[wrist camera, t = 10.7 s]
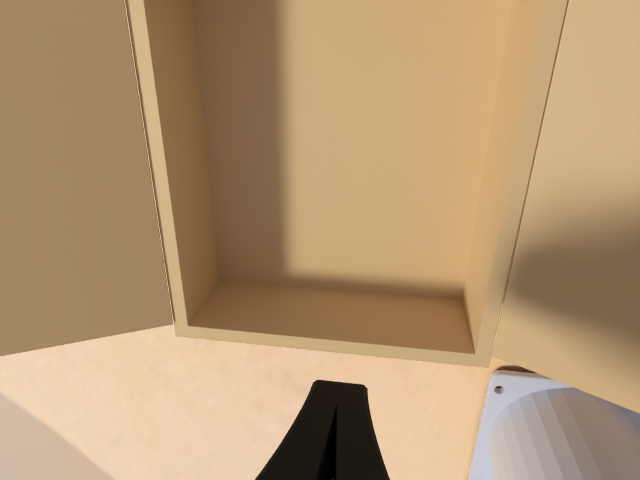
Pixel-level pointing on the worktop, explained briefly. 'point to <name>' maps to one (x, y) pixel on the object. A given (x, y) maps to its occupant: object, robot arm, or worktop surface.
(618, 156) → the flap
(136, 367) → the worktop surface
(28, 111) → the flap
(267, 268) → the carton
